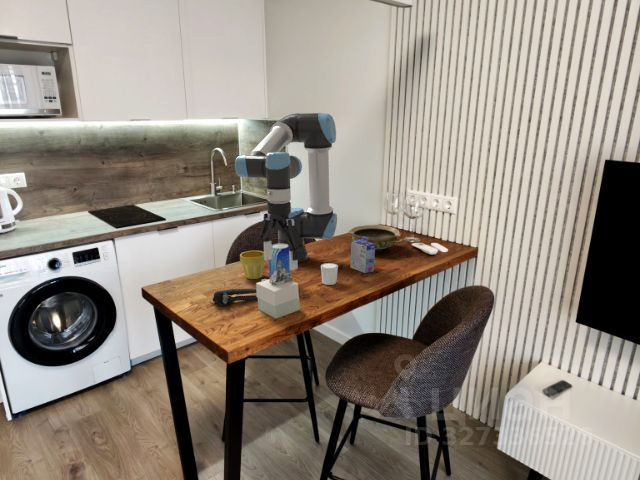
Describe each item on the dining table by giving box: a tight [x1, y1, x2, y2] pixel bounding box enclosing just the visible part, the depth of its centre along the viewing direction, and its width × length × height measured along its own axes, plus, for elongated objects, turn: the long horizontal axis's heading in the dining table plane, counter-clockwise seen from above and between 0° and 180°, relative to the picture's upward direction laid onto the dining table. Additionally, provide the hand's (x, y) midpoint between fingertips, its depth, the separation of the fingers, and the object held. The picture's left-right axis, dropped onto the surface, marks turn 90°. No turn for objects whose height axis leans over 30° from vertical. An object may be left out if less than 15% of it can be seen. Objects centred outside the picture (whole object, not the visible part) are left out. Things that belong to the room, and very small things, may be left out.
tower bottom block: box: [257, 297, 300, 320], centre depth 146 cm, size 10×10×5 cm
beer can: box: [268, 243, 292, 279], centre depth 166 cm, size 8×8×16 cm
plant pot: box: [239, 250, 267, 280], centre depth 176 cm, size 10×10×10 cm
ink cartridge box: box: [349, 236, 376, 274], centre depth 184 cm, size 10×6×14 cm, turn 38°
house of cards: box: [261, 260, 293, 286], centre depth 145 cm, size 9×9×8 cm
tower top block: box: [255, 279, 300, 306], centre depth 144 cm, size 10×10×5 cm
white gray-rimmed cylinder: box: [320, 262, 339, 286], centre depth 170 cm, size 7×7×7 cm
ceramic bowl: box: [347, 224, 403, 253], centre depth 212 cm, size 30×24×10 cm
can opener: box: [212, 287, 258, 307], centre depth 152 cm, size 18×7×6 cm, turn 111°
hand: (280, 264), depth 143 cm, fingers open, 13 cm apart
